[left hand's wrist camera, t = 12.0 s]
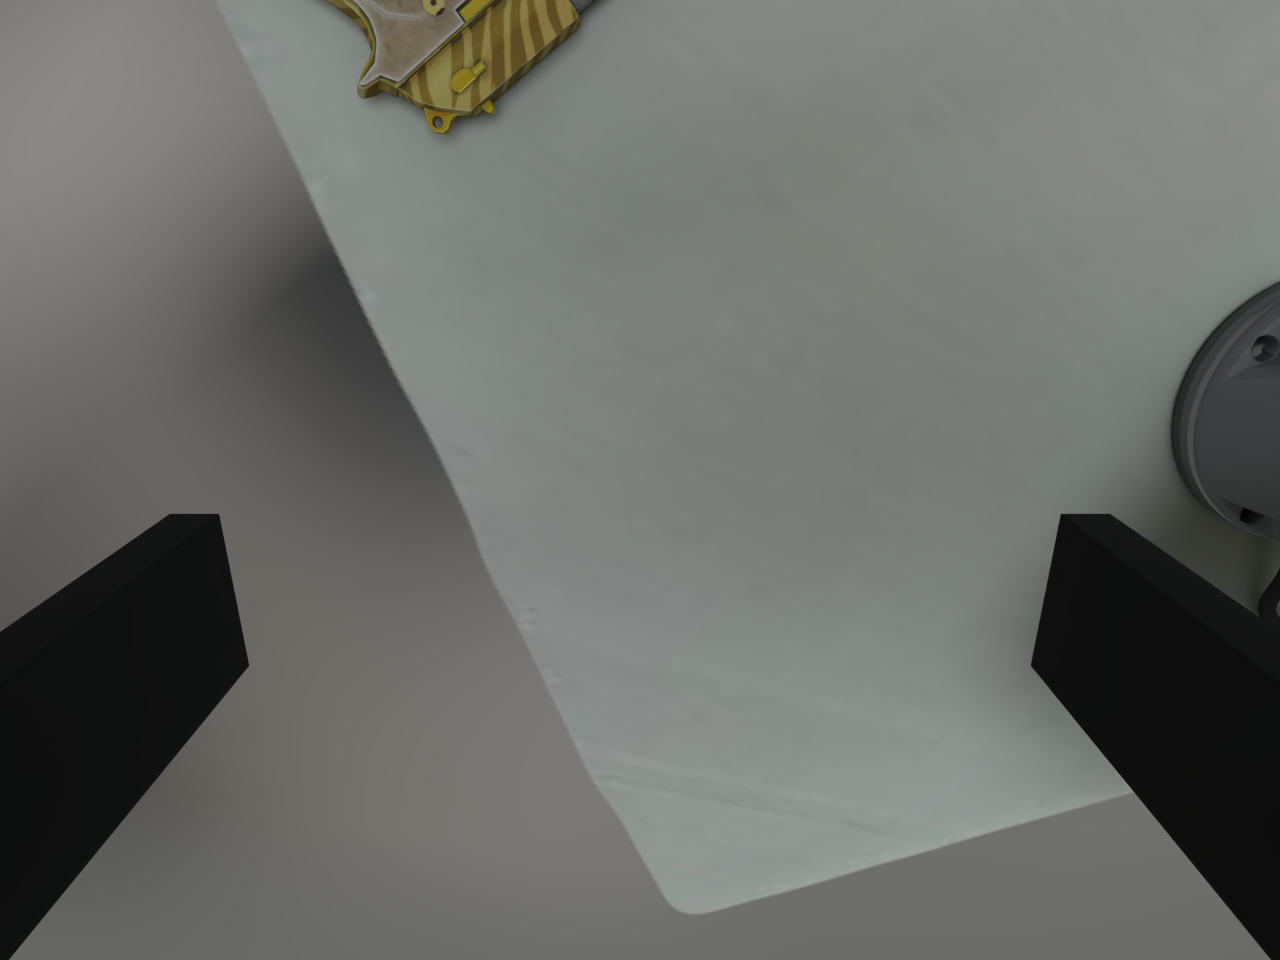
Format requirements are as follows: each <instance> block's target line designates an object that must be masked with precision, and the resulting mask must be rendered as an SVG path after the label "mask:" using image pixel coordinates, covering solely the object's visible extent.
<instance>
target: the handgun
mask: <svg viewBox="0 0 1280 960" xmlns="http://www.w3.org/2000/svg"><path fill="white" fill-rule="evenodd" d="M327 1H329V2H330V3H331V4H333V5H334V6H335V7H337V8H338V9H340V10H341V11H342V12H343V13H345V14H346V15H347V16H349V17H350V18H351V19H352V20H354V21H355V22H356V23H357V24H358V25H359V27H360V28H361V29H362V30H363V32H364V33H365V34H366V37H367V40H368V42H369V45H370V47H371V50H372V53H371V56H370V58H369V61H368V62H367V64H366V66H365V68H364V70H363V72H362V74H361V77H360V80H359V82H358V95H359V97H361V98H364V99H365V98H369V97H372V96H376V95H378V94H379V93H381V92H382V91H386V92H388V93H390V94H392V95H394V96H395V97H397V96H401V97H403V98H404V99H405V100H407V101H408V102H410V103H411V104H412V105H414V106H416V107H419V108H422V109H424V111H425V115H426V120H427V123H428V125H429V127H430V128H431V129H432V130H433V131H434V132H436V133H440V134H447V133H448V132H449V131H450V130H451V128H452V124H453V122H454V120H455V118H457V117H458V116H465V117H472V116H476V115H478V114H479V113H480V112H481V111H482V110H485V111H486V112H488V113H489V114H494V113H495V112H496V108H495V105H494V104H493V101H494V100H495V99H496V98H497V97H499V96H500V95H501V94H502V93H503V92H504V91H505V90H507V89H508V88H509V87H510V86H511V85H512V84H514V83H515V82H516V81H517V80H518V79H519V78H520V77H522V76H523V75H524V74H525V73H526V72H527V71H528V70H530V69H531V68H532V67H533V66H534V65H535V64H537V63H538V62H539V61H540V60H541V59H542V58H543V57H545V56H546V55H547V54H548V53H549V52H550V51H552V50H553V49H554V48H555V47H556V46H557V45H558V44H560V43H561V42H562V41H563V40H564V39H565V38H566V37H568V36H569V35H570V34H571V33H572V32H573V31H575V30H576V29H577V28H578V27H579V26H580V25H581V22H580V18H579V15H578V13H579V12H580V11H582V10H583V9H584V8H585V7H586V6H587V5H589V4H590V3H591V2H592V1H593V0H327ZM438 117H441V118H442V120H443V125H442V127H440V128H437V127H436V126H435V120H436V118H438Z"/></svg>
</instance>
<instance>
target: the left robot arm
mask: <svg viewBox="0 0 1280 960" xmlns="http://www.w3.org/2000/svg"><path fill="white" fill-rule="evenodd" d="M1173 446H1174V453H1175V458H1176V462H1177V466H1178V468H1179V471H1180V473H1181V476H1182V478H1183V480H1184V482H1185V483H1186V485H1187V487H1188V488H1189V490H1190V491H1191V492H1192V494H1193V495H1194V496H1195V497H1196V498H1197V499H1198V501H1199V502H1200V503H1201V504H1203V505H1204V506H1205V507H1206V508H1207V509H1209V510H1210V511H1212V512H1213V513H1215V514H1216V515H1218V516H1219V517H1221V518H1223V519H1225V520H1226V521H1228V522H1230V523H1232V524H1233V525H1235V526H1237V527H1239V528H1241V529H1243V530H1245V531H1247V532H1249V533H1252V534H1255V535H1257V536H1261V537H1265V538H1269V539H1274V540H1279V541H1280V283H1279V284H1277V285H1275V286H1273V287H1271V288H1269V289H1267V290H1266V291H1264V292H1263V293H1261V294H1259V295H1258V296H1256V297H1255V298H1253V299H1252V300H1251V301H1249V302H1248V303H1247V304H1245V305H1244V306H1243V307H1241V308H1240V309H1239V310H1238V311H1237V312H1235V313H1234V314H1233V315H1232V316H1231V317H1230V318H1229V319H1228V320H1227V321H1226V322H1225V323H1224V324H1223V325H1222V326H1221V327H1220V328H1219V329H1218V330H1217V331H1216V332H1215V333H1214V335H1213V336H1212V337H1211V338H1210V339H1209V341H1208V342H1207V343H1206V345H1205V346H1204V347H1203V349H1202V350H1201V352H1200V353H1199V355H1198V356H1197V358H1196V360H1195V361H1194V363H1193V365H1192V366H1191V368H1190V370H1189V372H1188V374H1187V376H1186V378H1185V381H1184V383H1183V386H1182V389H1181V391H1180V394H1179V398H1178V401H1177V405H1176V410H1175V415H1174V423H1173ZM1279 600H1280V569H1279V571H1278V573H1277V575H1276V576H1275V578H1274V579H1273V581H1272V582H1271V583H1270V585H1269V586H1268V587H1267V589H1266V590H1265V592H1264V593H1263V595H1262V596H1261V598H1260V601H1259V605H1258V612H1259V615H1260V618H1261V619H1260V618H1259V617H1258V616H1256V615H1255V614H1253V613H1252V612H1250V611H1249V610H1248V609H1246V608H1245V607H1243V606H1242V605H1240V604H1239V603H1237V602H1236V601H1235V600H1233V599H1232V598H1230V597H1229V596H1227V595H1226V594H1224V593H1223V592H1222V591H1220V590H1219V589H1217V588H1216V587H1214V586H1213V585H1212V584H1210V583H1209V582H1207V581H1206V580H1204V579H1203V578H1201V577H1200V576H1199V575H1197V574H1196V573H1194V572H1193V571H1191V570H1190V569H1189V568H1187V567H1186V566H1184V565H1183V564H1181V563H1180V562H1178V561H1177V560H1176V559H1174V558H1173V557H1171V556H1170V555H1168V554H1167V553H1165V552H1164V551H1163V550H1161V549H1160V548H1158V547H1157V546H1155V545H1154V544H1153V543H1151V542H1150V541H1148V540H1147V539H1145V538H1144V537H1142V536H1141V535H1140V534H1138V533H1137V532H1135V531H1134V530H1132V529H1131V528H1130V527H1128V526H1127V525H1125V524H1124V523H1122V522H1121V521H1119V520H1118V519H1117V518H1115V517H1114V516H1112V515H1111V514H1061V516H1060V521H1059V526H1058V531H1057V537H1056V542H1055V547H1054V552H1053V557H1052V562H1051V567H1050V572H1049V577H1048V582H1047V587H1046V592H1045V597H1044V602H1043V607H1042V612H1041V617H1040V622H1039V627H1038V632H1037V637H1036V642H1035V647H1034V652H1033V657H1032V662H1031V666H1032V668H1033V669H1034V670H1035V671H1036V673H1037V674H1038V675H1039V676H1040V677H1041V679H1042V680H1043V681H1044V682H1045V684H1046V685H1047V686H1048V687H1049V688H1050V690H1051V691H1052V692H1053V693H1054V695H1055V696H1056V697H1057V698H1058V699H1059V701H1060V702H1061V703H1062V704H1063V706H1064V707H1065V708H1066V709H1067V710H1068V712H1069V713H1070V714H1071V715H1072V717H1073V718H1074V719H1075V720H1076V722H1077V723H1078V724H1079V725H1080V726H1081V728H1082V729H1083V730H1084V731H1085V733H1086V734H1087V735H1088V736H1089V737H1090V739H1091V740H1092V741H1093V742H1094V744H1095V745H1096V746H1097V747H1098V748H1099V750H1100V751H1101V752H1102V753H1103V755H1104V756H1105V757H1106V758H1107V759H1108V761H1109V762H1110V763H1111V764H1112V766H1113V767H1114V768H1115V769H1116V770H1117V772H1118V773H1119V774H1120V775H1121V777H1122V778H1123V779H1124V780H1125V781H1126V783H1127V784H1128V785H1129V786H1130V788H1131V789H1132V790H1133V791H1134V792H1135V794H1136V795H1137V796H1138V797H1139V799H1140V800H1141V801H1142V802H1143V803H1144V805H1145V806H1146V807H1147V808H1148V810H1149V811H1150V812H1151V813H1152V815H1153V816H1154V817H1155V818H1156V819H1157V821H1158V822H1159V823H1160V824H1161V826H1162V827H1163V828H1164V829H1165V830H1166V832H1167V833H1168V834H1169V835H1170V836H1171V838H1172V839H1173V840H1174V841H1175V843H1176V844H1177V845H1178V846H1179V848H1180V849H1181V850H1182V851H1183V852H1184V854H1185V855H1186V856H1187V857H1188V859H1189V860H1190V861H1191V862H1192V863H1193V865H1194V866H1195V867H1196V868H1197V870H1198V871H1199V872H1200V873H1201V874H1202V876H1203V877H1204V878H1205V879H1206V881H1207V882H1208V883H1209V884H1210V885H1211V887H1212V888H1213V889H1214V890H1215V892H1216V893H1217V894H1218V895H1219V896H1220V898H1221V899H1222V900H1223V901H1224V903H1225V904H1226V905H1227V906H1228V907H1229V909H1230V910H1231V911H1232V912H1233V914H1234V915H1235V916H1236V917H1237V918H1238V920H1239V921H1240V922H1241V923H1242V925H1243V926H1244V927H1245V928H1246V930H1247V931H1248V932H1249V933H1250V934H1251V936H1252V937H1253V938H1254V939H1255V941H1256V942H1257V943H1258V944H1259V945H1260V947H1261V948H1262V949H1263V950H1264V952H1265V953H1266V954H1267V955H1268V956H1269V958H1270V959H1271V960H1280V618H1279V617H1278V615H1277V613H1276V607H1277V604H1278V602H1279ZM248 666H249V662H248V658H247V652H246V648H245V642H244V637H243V632H242V627H241V622H240V617H239V612H238V607H237V602H236V597H235V592H234V587H233V582H232V577H231V572H230V567H229V562H228V557H227V552H226V547H225V542H224V537H223V531H222V527H221V521H220V516H219V514H169V515H168V516H166V517H165V518H163V519H162V520H161V521H159V522H158V523H156V524H155V525H153V526H152V527H150V528H149V529H148V530H146V531H145V532H143V533H142V534H141V535H139V536H138V537H136V538H135V539H133V540H132V541H130V542H129V543H128V544H126V545H125V546H123V547H122V548H120V549H119V550H117V551H116V552H115V553H113V554H112V555H110V556H109V557H107V558H106V559H104V560H103V561H102V562H100V563H99V564H97V565H96V566H94V567H93V568H92V569H90V570H89V571H87V572H86V573H84V574H83V575H81V576H80V577H79V578H77V579H76V580H74V581H73V582H71V583H70V584H68V585H67V586H66V587H64V588H63V589H61V590H60V591H58V592H57V593H56V594H54V595H53V596H51V597H50V598H48V599H47V600H45V601H44V602H43V603H41V604H40V605H38V606H37V607H35V608H34V609H33V610H31V611H30V612H28V613H27V614H25V615H24V616H22V617H21V618H20V619H18V620H17V621H15V622H14V623H12V624H11V625H10V626H8V627H7V628H5V629H4V630H2V631H1V632H0V960H9V959H10V958H11V956H12V955H13V954H14V953H15V952H16V950H17V949H18V948H19V947H20V945H21V944H22V943H23V942H24V941H25V939H26V938H27V937H28V936H29V934H30V933H31V932H32V931H33V930H34V928H35V927H36V926H37V925H38V923H39V922H40V921H41V920H42V918H43V917H44V916H45V915H46V914H47V912H48V911H49V910H50V909H51V907H52V906H53V905H54V904H55V903H56V901H57V900H58V899H59V898H60V897H61V895H62V894H63V893H64V892H65V890H66V889H67V888H68V887H69V885H70V884H71V883H72V882H73V880H74V879H75V878H76V877H77V876H78V874H79V873H80V872H81V871H82V870H83V868H84V867H85V866H86V865H87V863H88V862H89V861H90V860H91V859H92V857H93V856H94V855H95V854H96V852H97V851H98V850H99V849H100V848H101V846H102V845H103V844H104V843H105V841H106V840H107V839H108V838H109V837H110V835H111V834H112V833H113V832H114V830H115V829H116V828H117V827H118V826H119V824H120V823H121V822H122V821H123V819H124V818H125V817H126V816H127V815H128V813H129V812H130V811H131V810H132V808H133V807H134V806H135V805H136V803H137V802H138V801H139V800H140V799H141V797H142V796H143V795H144V794H145V792H146V791H147V790H148V789H149V788H150V786H151V785H152V784H153V783H154V781H155V780H156V779H157V778H158V777H159V775H160V774H161V773H162V772H163V770H164V769H165V768H166V767H167V765H168V764H169V763H170V762H171V761H172V759H173V758H174V757H175V756H176V755H177V753H178V752H179V751H180V750H181V748H182V747H183V746H184V745H185V744H186V742H187V741H188V740H189V739H190V737H191V736H192V735H193V734H194V733H195V731H196V730H197V729H198V728H199V726H200V725H201V724H202V723H203V721H204V720H205V719H206V718H207V717H208V715H209V714H210V713H211V712H212V710H213V709H214V708H215V707H216V706H217V704H218V703H219V702H220V701H221V699H222V698H223V697H224V696H225V695H226V693H227V692H228V691H229V690H230V688H231V687H232V686H233V685H234V684H235V682H236V681H237V680H238V679H239V677H240V676H241V675H242V674H243V673H244V671H245V670H246V669H247V668H248Z"/></svg>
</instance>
